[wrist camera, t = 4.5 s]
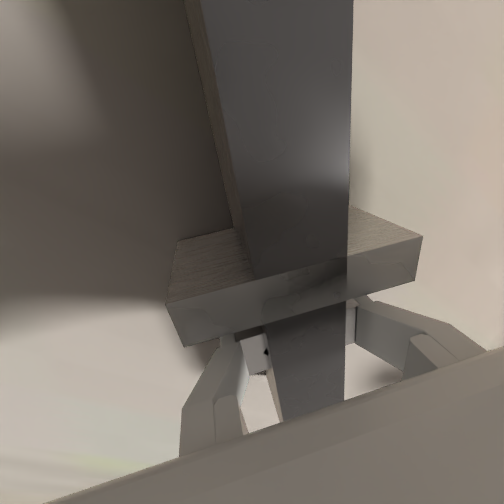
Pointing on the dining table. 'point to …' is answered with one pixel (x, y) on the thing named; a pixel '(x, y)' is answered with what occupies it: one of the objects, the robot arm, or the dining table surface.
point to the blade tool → (283, 196)
